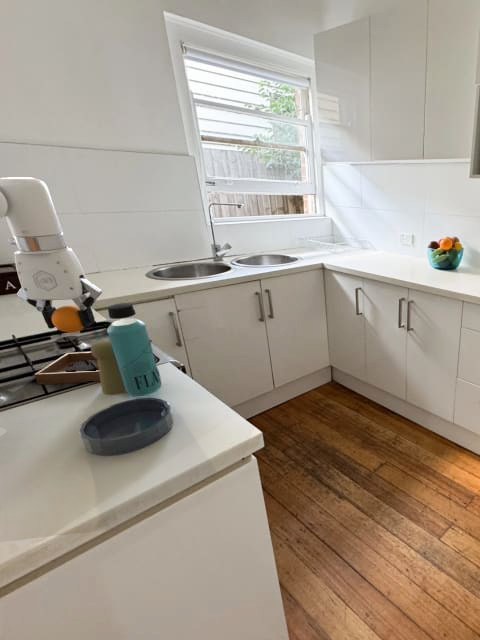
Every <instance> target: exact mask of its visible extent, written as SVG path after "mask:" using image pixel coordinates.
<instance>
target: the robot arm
mask: <svg viewBox="0 0 480 640" xmlns="http://www.w3.org/2000/svg"><path fill="white" fill-rule="evenodd" d="M49 190H50V189H49V188H48V186H47V185H46V183H45V182H44V181H43V180H41V179H39V178H35V177H0V220H1V219H2V218H5V221H6V223H7V225H8V228H9V230H10V233H11V236H12V237H9V239H8V243H9V244H10V245H12V246H16V248H17V251H14V264H15V269H16V272H17V277H18V280H19V283H20V286H21V287H20V289H19V290H18V292H17V293H16V296H17V297H18V298H20V299H22V300H24V301H25V302H27V303H28V304H29V305H30V306H32V307H34V308H35V309H36V311H37V312H41V314H42V317H43V320H44V322H45V324H46V326H47V328H48V329H49V330H53V329H54V328H55V329H56V327H55V326H54V325H53V323H52V319H51V318H52V314H53V312H54V311H55V310H56V309H57V308H56V307H55V306H53V301H63V300H67V301H68V300H72V301H73V302H74V304H75V306H76V307H79V308H80V310H78V314H79V317H80V320H81V323H82V326H83V327H84V328H89V327H90V326H92V325H93V324H95V315H94V313H93V310H92V307H93V306H94V303H96V302H97V300H98V298H99V297H100V296H101V295H102V293H103V290H101V289H100V288H99V287H97V286H96V285H94V284H92V283H91V282H90V281H89V280H88V278H87V276H86V273H85V270H84V268H83V266H82V265H81V262H80V260H79V258H78V257H77V255H76V253H75V252H74V250H73V249H72V248H69V246H68V243H67V240H66V237H65V234H64V232H63V229H62V225H61V222H60V220H59V217H58V214H57V210H56V208H55V206H54V201H53V199H52V197H51V194H50V191H49ZM88 293H89V295H88V296H87V294H88Z"/></svg>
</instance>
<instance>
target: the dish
mask: <svg viewBox="0 0 480 640" xmlns="http://www.w3.org/2000/svg"><path fill="white" fill-rule="evenodd" d="M174 422H175V421H174V415H173V411H172V406H171V405H170V403H169V402H168V401H167V400H165V399H162V398H157V397H139V398H134V399H128V400H125V401H121V402H118V403H114V404H110V405H109V406H107V407H104V408H102V409H100V410H99V411H98V410H97V412H95V413H93V414H92V415H90V416H89V417H88V418H87V419H86V420H84V422H83V423H81V426H80V428H79V431H78V432H79V435H80V438H81V439H82V442H83V444H84V447H85V449H86V450H87V452H89V453H91V454H94V455H96V456H107V457H108V456H117V455H118V456H119V455H124V454H127V453H132V452H134V451H135V452H136V451H138V450H141V449H143V448H145V447H147V446H149V445H151V444H154V443H155V442H157V441H159V440H160V439H162V438H163V437H164V436H166V435H167V434H168V433H169V432H170V431H171V429H172V428H173V426H174Z"/></svg>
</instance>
